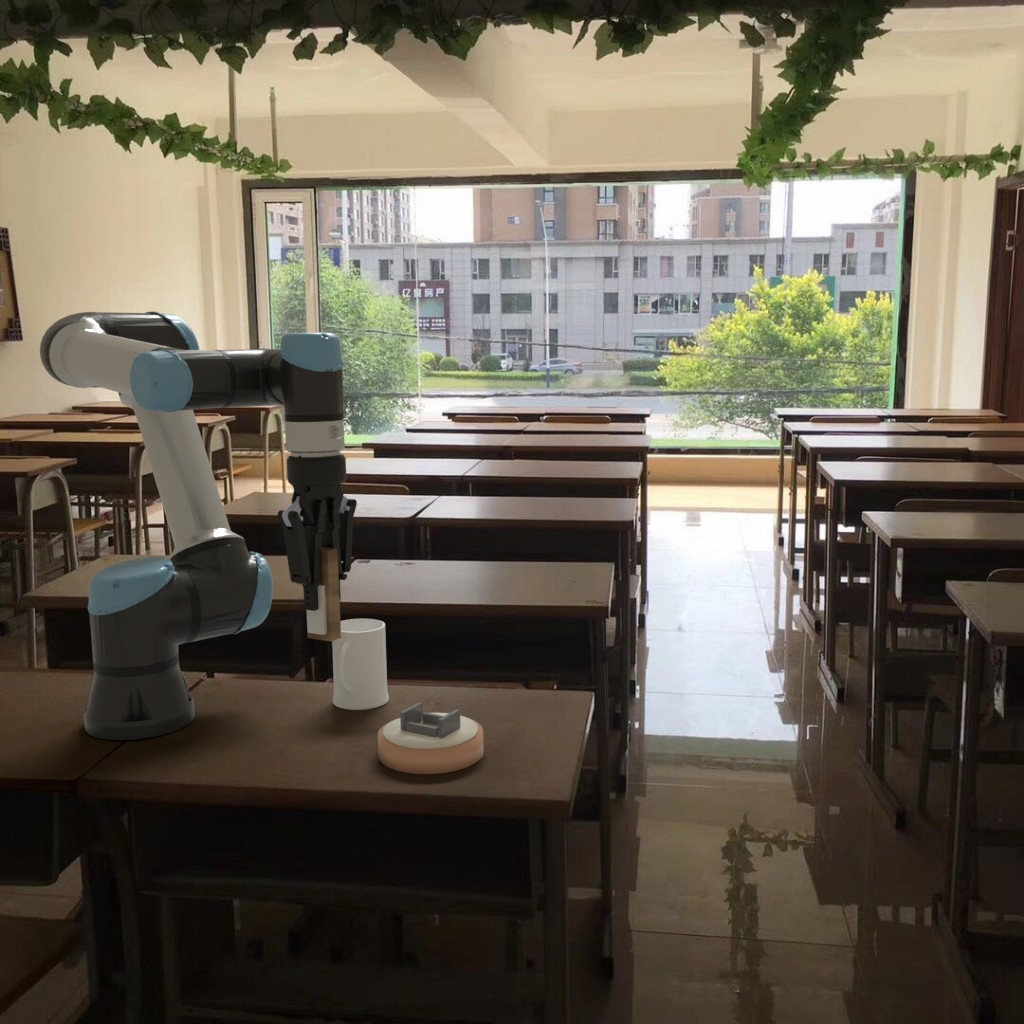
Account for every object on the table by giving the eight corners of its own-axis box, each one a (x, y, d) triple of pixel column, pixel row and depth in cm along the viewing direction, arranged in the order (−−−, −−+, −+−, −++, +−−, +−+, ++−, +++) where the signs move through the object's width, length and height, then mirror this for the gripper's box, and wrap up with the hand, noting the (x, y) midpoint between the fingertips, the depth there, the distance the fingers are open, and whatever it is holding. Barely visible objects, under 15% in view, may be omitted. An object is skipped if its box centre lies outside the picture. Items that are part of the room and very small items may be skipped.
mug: (362, 720, 156) (360, 640, 155) (311, 714, 159) (308, 635, 157) (398, 695, 167) (396, 620, 166) (349, 689, 170) (347, 616, 168)
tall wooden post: (307, 637, 143) (303, 548, 141) (317, 634, 144) (313, 546, 143) (331, 641, 141) (327, 551, 139) (341, 637, 142) (337, 548, 141)
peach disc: (357, 761, 141) (355, 718, 140) (417, 727, 153) (416, 688, 152) (446, 782, 134) (446, 737, 133) (502, 745, 146) (502, 703, 145)
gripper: (299, 460, 130) (308, 648, 134) (374, 449, 143) (381, 621, 147) (253, 458, 134) (263, 641, 138) (331, 447, 147) (338, 615, 151)
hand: (324, 630), depth 142 cm, fingers closed on tall wooden post, 2 cm apart
